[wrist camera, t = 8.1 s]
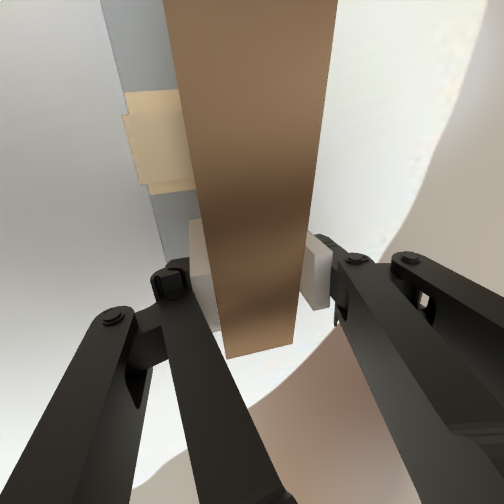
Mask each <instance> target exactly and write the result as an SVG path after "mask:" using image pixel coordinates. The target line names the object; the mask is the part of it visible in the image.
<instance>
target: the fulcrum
mask: <svg viewBox="0 0 504 504" xmlns="http://www.w3.org/2000/svg"><path fill="white" fill-rule="evenodd" d="M100 2H101V6H102V10H103V14H104V18H105V22H106V26H107V30H108V34H109V38H110V42H111V46H112V50H113V53H114V57H115V61H116V65H117V69H118V73H119V77H120V81H121V85H122V89H123V93H124V97H125V101H126V105H127V108H128V112H129V114H128V115H122V119H123V122H124V126H125V130H126V134H127V137H128V141H129V145H130V149H131V153H132V156H133V160H134V164H135V168H136V171H137V175H138V179H139V183H140V185H141V184H147V187H148V191H149V195H150V199H151V203H152V207H153V211H154V215H155V219H156V223H157V226H158V230H159V234H160V238H161V242H162V246H163V250H164V254H165V258H166V262H167V264H168V262H169V261H170V260H172V259H178V258H184V257H189V221H188V220H194V219H201V214H200V208H199V202H198V197H197V191H196V186H195V180H194V174H193V169H192V163H191V158H190V152H189V146H188V141H187V135H186V130H185V124H184V118H183V113H182V107H181V102H180V96H179V90H178V85H177V79H176V74H175V68H174V62H173V57H172V51H171V46H170V40H169V34H168V29H167V23H166V17H165V12H164V6H163V1H162V0H100Z"/></svg>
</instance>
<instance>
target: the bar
mask: <svg viewBox="0 0 504 504" xmlns="http://www.w3.org/2000/svg"><path fill="white" fill-rule="evenodd" d="M162 1H163V6H164V12H165V17H166V23H167V29H168V34H169V40H170V46H171V51H172V57H173V62H174V68H175V74H176V79H177V85H178V90H179V96H180V102H181V107H182V113H183V118H184V124H185V130H186V135H187V141H188V146H189V152H190V158H191V163H192V169H193V174H194V180H195V186H196V191H197V197H198V202H199V208H200V214H201V219H202V225H203V231H204V236H205V242H206V247H207V253H208V259H209V264H210V270H211V275H212V281H213V287H214V292H215V298H216V303H217V309H218V315H219V320H220V326H221V331H222V337H223V343H224V348H225V354H226V359H231V358H235V357H239V356H243V355H248V354H252V353H256V352H260V351H264V350H268V349H273V348H277V347H281V346H285V345H289V344H292V343H293V335H294V328H295V320H296V313H297V305H298V298H299V288H300V281H301V274H302V266H303V259H304V252H305V245H306V237H307V230H308V222H309V215H310V207H311V199H312V192H313V184H314V177H315V169H316V162H317V154H318V147H319V139H320V132H321V124H322V117H323V109H324V101H325V94H326V86H327V79H328V71H329V64H330V56H331V49H332V41H333V34H334V26H335V18H336V11H337V3H338V0H162Z"/></svg>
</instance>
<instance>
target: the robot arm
mask: <svg viewBox="0 0 504 504" xmlns="http://www.w3.org/2000/svg"><path fill="white" fill-rule="evenodd" d="M188 221H189V257H184V258H178V259H172V260H170V261H169V262H168V264H167V265H166V268H163V269H160V270H159V271H157V272H155V273H154V274H153V275H152V276H151V278H150V282H151V285H152V289H153V292H154V296H155V299H156V303H155V304H153V305H152V306H150V307H148V308H146V309H144V310H141V311H139V312H136V313H134V310H133V309H132V308H131V307H128V306H117V307H114V308H110V309H108V310H105V311H104V312H102V313H101V314H99V315H98V316H97V317H96V318H95V319H94V320H93V321H92V323H91V325H90V327H89V328H88V330H87V332H86V334H85V336H84V338H83V340H82V342H81V344H80V345H79V347H78V349H77V351H76V353H75V355H74V357H73V359H72V360H71V362H70V364H69V366H68V368H67V370H66V372H65V374H64V376H63V377H62V379H61V381H60V383H59V385H58V387H57V389H56V391H55V393H54V394H53V396H52V398H51V400H50V402H49V404H48V406H47V408H46V410H45V411H44V413H43V415H42V417H41V419H40V421H39V423H38V425H37V426H36V428H35V430H34V432H33V434H32V436H31V438H30V440H29V442H28V443H27V445H26V447H25V449H24V451H23V453H22V455H21V457H20V459H19V460H18V462H17V464H16V466H15V468H14V470H13V472H12V474H11V475H10V477H9V479H8V481H7V483H6V485H5V487H4V489H3V491H2V492H1V494H0V504H129V501H130V495H131V490H132V484H133V479H134V473H135V467H136V462H137V456H138V451H139V445H140V439H141V434H142V428H143V422H144V417H145V411H146V406H147V400H148V394H149V389H150V383H151V378H152V372H153V366H155V365H157V364H159V363H161V362H163V361H165V360H167V359H169V364H170V368H171V373H172V378H173V382H174V387H175V391H176V396H177V401H178V405H179V410H180V415H181V419H182V424H183V429H184V433H185V438H186V442H187V447H188V452H189V456H190V461H191V466H192V470H193V475H194V480H195V484H196V489H197V494H198V498H199V503H200V504H298V503H297V502H296V500H295V499H294V497H293V496H292V495H291V494H290V493H289V492H287V491H286V490H285V488H284V486H283V485H282V483H281V481H280V479H279V477H278V475H277V472H276V471H275V468H274V466H273V464H272V462H271V460H270V458H269V455H268V453H267V451H266V449H265V446H264V444H263V442H262V440H261V438H260V436H259V433H258V431H257V429H256V427H255V425H254V423H253V420H252V418H251V416H250V414H249V412H248V410H247V407H246V405H245V403H244V401H243V399H242V396H241V394H240V392H239V390H238V388H237V386H236V383H235V381H234V379H233V377H232V375H231V373H230V370H229V368H228V366H227V364H226V362H225V360H224V357H223V355H222V353H221V351H220V349H219V347H218V344H217V342H216V340H215V338H214V336H213V334H212V333H213V332H217V331H221V328H220V322H219V317H218V311H217V305H216V299H215V293H214V287H213V281H212V276H211V270H210V264H209V259H208V253H207V247H206V242H205V236H204V231H203V225H202V219H194V220H188ZM299 291H300V292H301V294H302V295H303V296H304V298H305V299H306V301H307V302H308V304H309V305H310V307H311V308H312V310H313V311H315V310H319V309H324V308H328V307H330V296H331V297H332V298H333V300H334V301H335V312H334V326H337V321H338V320H339V322H340V324H341V325H340V326H342V328H343V331H344V333H345V335H346V337H347V339H348V341H349V344H350V346H351V348H352V350H353V352H354V355H355V357H356V359H357V361H358V363H359V366H360V368H361V370H362V372H363V374H364V377H365V379H366V381H367V383H368V385H369V387H370V390H371V392H372V394H373V396H374V398H375V401H376V403H377V405H378V407H379V409H380V412H381V414H382V416H383V418H384V420H385V422H386V425H387V427H388V429H389V431H390V434H391V436H392V438H393V440H394V442H395V444H396V446H397V449H398V451H399V453H400V455H401V458H402V460H403V462H404V464H405V466H406V468H407V471H408V473H409V475H410V477H411V479H412V482H413V484H414V486H415V488H416V490H417V493H418V495H419V497H420V500H421V503H422V504H504V297H502V296H500V295H498V294H496V293H494V292H492V291H490V290H489V289H487V288H485V287H483V286H481V285H479V284H477V283H475V282H473V281H471V280H469V279H467V278H465V277H464V276H462V275H460V274H458V273H456V272H454V271H452V270H450V269H448V268H446V267H444V266H442V265H440V264H439V263H437V262H435V261H433V260H431V259H429V258H427V257H425V256H423V255H420V254H417V253H414V252H407V251H405V252H398V253H395V254H393V256H392V259H391V263H375V262H374V261H373V260H372V259H371V258H369V257H368V256H366V255H363V254H359V253H348V252H347V251H345V250H344V249H343V248H342V247H340V246H339V245H338V244H336V243H335V242H333V240H331V239H330V238H329V237H327V236H324V235H321V234H317V235H313V234H312V233H311V232H309V231H308V230H307V237H306V245H305V252H304V259H303V266H302V274H301V281H300V288H299ZM422 293H425V294H426V295H428V296H429V301H428V305H427V307H424V306H422V305H421V304H420V301H421V297H422Z"/></svg>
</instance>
